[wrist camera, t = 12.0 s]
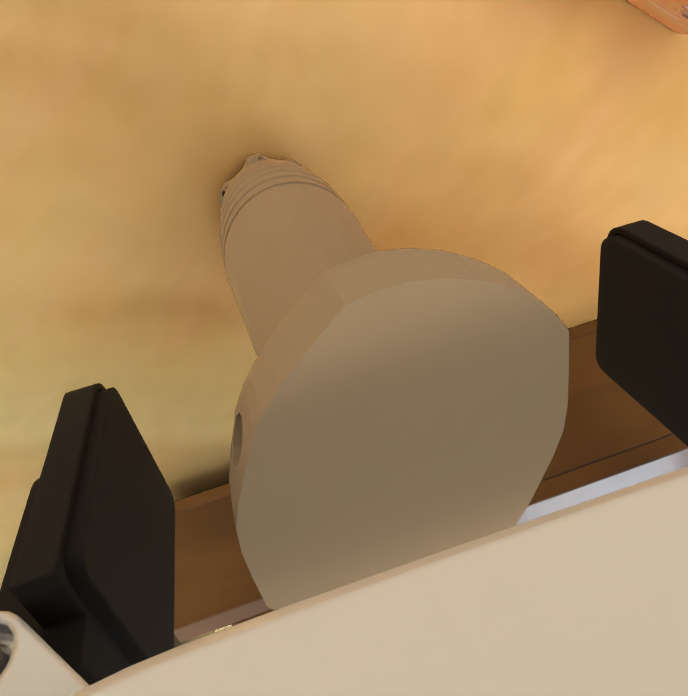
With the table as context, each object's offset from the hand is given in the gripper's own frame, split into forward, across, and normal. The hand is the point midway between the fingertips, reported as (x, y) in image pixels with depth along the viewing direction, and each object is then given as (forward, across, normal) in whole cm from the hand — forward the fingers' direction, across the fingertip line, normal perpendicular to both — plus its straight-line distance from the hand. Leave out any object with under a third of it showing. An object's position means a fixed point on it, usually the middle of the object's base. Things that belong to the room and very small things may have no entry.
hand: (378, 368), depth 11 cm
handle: (+12, +1, 0) cm, 12 cm away
